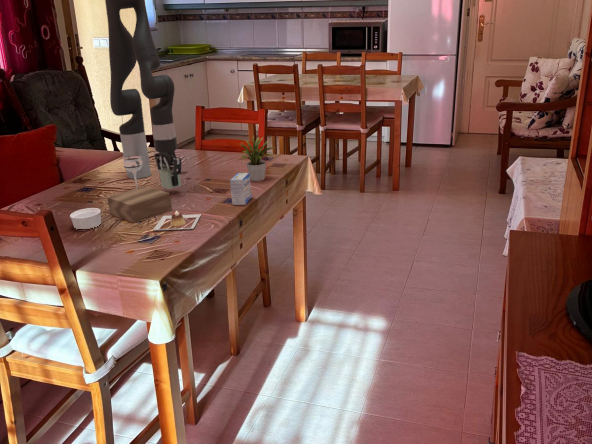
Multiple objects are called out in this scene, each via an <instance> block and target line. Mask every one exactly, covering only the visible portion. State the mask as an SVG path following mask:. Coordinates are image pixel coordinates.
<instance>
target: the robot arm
mask: <svg viewBox="0 0 592 444" xmlns="http://www.w3.org/2000/svg"><path fill="white" fill-rule="evenodd" d="M104 2H105V9H106V17H107V18H106V19H107V25H108V27H107V28H108V31H107V32H108V55H109V56H108V57H109V59H108V60H109V67H110V68H109V69H110V89H109V90H110V92H109V96H110V97H109V100H110V104H109V105H110V109H111V112H112V114H114V116H117V117H121V116H122V117H124V116H129V115H131V117H130V118H129V119H128V121H125V122H124V123H122V124H121V125H120V126H119V128H118V131H119V136H120V142H121V147H122V155H123V158H124V157H128V156H135V155H138V156H142V158H141V160H142V162H143V166H142V168H141V169H140V170H139V171H137V173H136V179H144V178H147V177H150V176H151V175H152V171H151V163H150V158H149V157H150V155H149V149H148V143H147V137H146V130H145V122H144V114H143V106H142V105H143V104H142V96H141V94H140V92H139V90H138V89H136V88H129V89H123V87H124V84H125V82H126V81H127V79H128V77H129V76H130V74H131V73H132V72H133V70H134V69H135V66H136V65H137V64H138V67H139V68H138V69H139V77H140V78H139V79H140V89H141V92H142V94H143V96H144V97H145V98H147V99H148V100H155V99H159V102H158V103H156V104H155V105H153V106H152V107H150V118H151V124H152V131H151V132H152V137H153V144H154V150H155V153H154V159H155V163H156V166H157V170H158V171H159V170H161V169H164V168H167V169H168V170H169V171H170V174H171V180H172V186H174V187H175V186H178V185H179V183H178V175H179V174H180V175H181V174H182V158H181V157H177V155H176V150H178V142H177V134H176V133H177V132H176V127H175V123H174V117H173V116H174V115H173V103H174V96H175V83H174V81H173V79H172V77H170V76H169V75H167V74H161V75H155V76H153V71H156V70H157V69H159V68H160V67H161V64H162V63H161V59H160V57H159V53H158V52H157V48H156V45H155V43H154V38H153V35H152V31H151V27H150V21H149V17H148V12H147V7H146V2H145V0H104ZM126 9H134V13H135V19H136V21H135V27H134V32H133V35H132V34H131V32H130V31H129V30H128V29H127V27H126V26H125V25H124V23H123V22H122V19H121V10H126ZM136 63H137V64H136ZM172 169H173V171H172ZM177 169H178V170H177ZM125 173H126V176H127V178H128V179H133V180H135V178H134V173H132V172H129V171H127V170H126V169H125ZM178 187H179V186H178ZM175 188H176V187H175Z"/></svg>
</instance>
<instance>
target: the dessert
mask: <svg viewBox="0 0 592 444" xmlns="http://www.w3.org/2000/svg"><path fill="white" fill-rule="evenodd" d="M201 216H202V213H201V214H200V213H199V214H198V213H195V214H182V213H180V212H179V211H178V210H175V211H173V213H172V214H171V215H162V216H161V218H160V219H159V221H158V222H157V224H156V225H155V226H154V228H153V229H152V231H155V232H157V231H158V232H161V231H181V230H182V231H184V230H194V228H195V227H196V225H197V223H198V221H199V219H200V218H201ZM187 218H190V219H191V218H192V219H193V218H195V219H194V221H193V223H192V225H191V226H190V227H181V226H184V225H186V223H187V222H186V221H185V219H187ZM167 219H171V220H170V224H169V225H170V226H171V227H180V228H161V227H162V226H163V224H164V223H165V221H166V220H167Z"/></svg>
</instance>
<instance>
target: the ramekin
mask: <svg viewBox="0 0 592 444" xmlns="http://www.w3.org/2000/svg"><path fill="white" fill-rule="evenodd" d="M101 212H102V211H101V209H100V208H96V207H87V208H81V209H78V210H75V211H73V212H72V213H70V215H69V217H70V220H71V222H72V225H73V228H74V229H75V228H76V229H75V230H77V229H90V228H93V229H95V228H94V227H96V228H98V227H100V226H101V225H100V224H102V216H101ZM99 225H100V226H99ZM97 226H98V227H97ZM90 230H91V229H90Z"/></svg>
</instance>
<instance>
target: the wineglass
mask: <svg viewBox="0 0 592 444" xmlns="http://www.w3.org/2000/svg"><path fill="white" fill-rule="evenodd" d="M141 158H142V156H138V155H135V156H128V157H124V156H123V158H122V160H123V162H122V166H123V167H124V169H125V171H126V170H127V171H129V172H132V173H134V178H135V179H134V182H135V187H136V188H133V189H137V188H139V187H138V180H137V179H136V173H137V171H139V170H140V169H141V168H142V166H143V162H142V160H141ZM133 189H131V190H133Z"/></svg>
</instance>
